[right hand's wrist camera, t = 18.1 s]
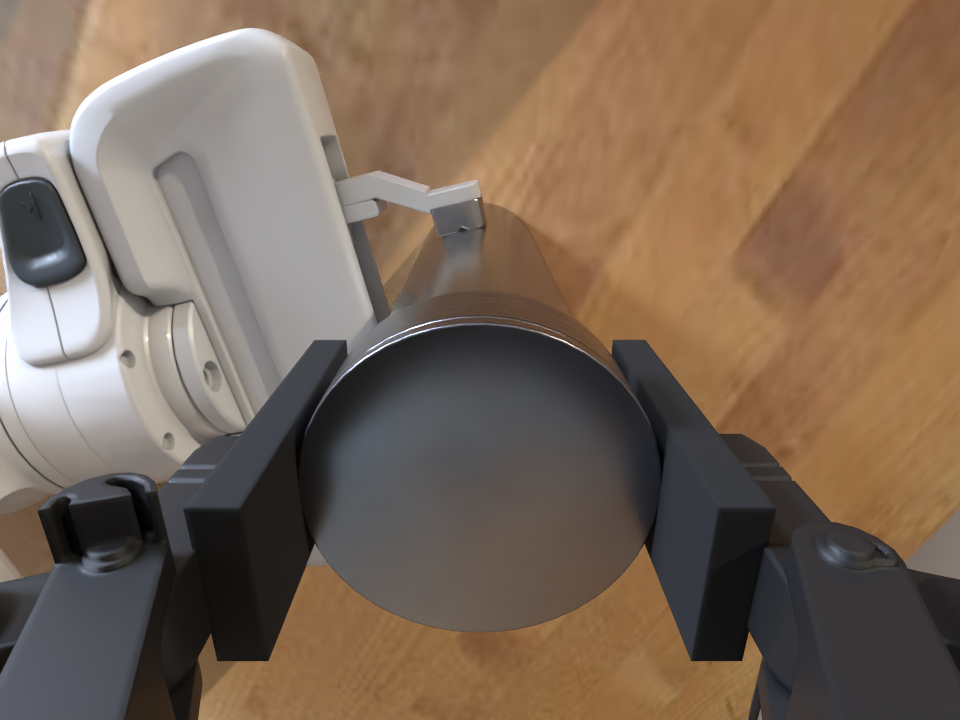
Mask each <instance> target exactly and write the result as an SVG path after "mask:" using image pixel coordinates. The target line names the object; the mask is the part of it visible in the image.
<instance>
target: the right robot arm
mask: <svg viewBox="0 0 960 720" xmlns="http://www.w3.org/2000/svg"><path fill="white" fill-rule="evenodd" d="M347 356H348V351H347V340H314V341H313V342H312V344H311V345H310V346H309V348H308V349H307V350H306V351H305V353H304V354H303V355H302V357H301V358H300V359H299V360H298V362H297V363H296V364H295V365H294V367H293V368H292V369H291V371H290V372H289V373H288V374H287V376H286V377H285V378H284V380H283V381H282V382H281V383H280V385H279V386H278V387H277V389H276V390H275V391H274V392H273V394H272V395H271V396H270V398H269V399H268V400H267V401H266V403H265V404H264V405H263V406H262V408H261V409H260V410H259V412H258V413H257V414H256V415H255V417H254V418H253V419H252V421H251V422H250V423H249V424H248V426H247V427H246V428H245V430H244V431H243V432H242V433H241V435H240V436H217V437H216V438H214V439H212V440H211V441H209V442H207V443H206V444H204V445H202V446H201V447H199V448H197V449H196V450H194V452H193V453H192V454H191V455H190V456H189V457H188V458H187V459H186V461H185V462H184V463H183V464H182V465H181V469H178V470H177V471H176V472H175V473H174V474H173V475H172V476H171V478H170V479H169V482H168V483H165V484H164V485H163V487H162V488H161V489H160V490H159V491H158V492H157V488H156V484H155V481H154V480H152V479H151V478H149V477H148V476H147V475H143V474H138V473H132V472H127V473H111V474H107V475H102V476H98V477H94V478H90V479H87V480H84V481H82V482H79V483H77V484H74V485H72V486H69V487H67V488H65V489H64V490H62V491H60V492H59V493H57V494H55V495H54V496H52V497H51V498H49V499H48V500H47V501H46V502H45V503H44V504H43V505H42V506H41V507H40V508H39V510H38V514H39V517H40V520H41V523H42V525H43V528H44V531H45V534H46V537H47V540H48V543H49V546H50V549H51V552H52V555H53V558H54V561H55V566H54V568H53V570H52V571H51V572H47V573H44V574H39V575H34V576H29V577H24V578H19V579H15V580H10V581H5V582H0V720H198V715H199V707H200V699H201V691H202V676H201V670H200V665H199V661H198V656H199V654H200V653H201V651H202V649H203V647H204V645H205V643H206V641H207V639H208V638H209V636H210V634H212V639H213V643H214V648H215V652H216V656H217V661H269V658H270V656H271V653H272V651H273V648H274V646H275V643H276V641H277V638H278V635H279V633H280V630H281V628H282V625H283V623H284V620H285V618H286V615H287V613H288V610H289V608H290V605H291V603H292V600H293V598H294V595H295V593H296V590H297V588H298V585H299V583H300V580H301V578H302V575H303V572H304V570H305V567H306V565H307V562H308V560H309V557H310V555H311V552H312V550H313V547H314V545H315V542H314V540H313V538H312V536H311V534H310V532H309V530H308V528H307V525H306V522H305V519H304V516H303V513H302V506H301V499H300V492H299V484H298V463H299V455H300V448H301V445H302V442H303V438H304V435H305V432H306V429H307V426H308V424H309V422H310V420H311V418H312V416H313V414H314V412H315V410H316V408H317V406H318V404H319V403H320V401H321V399H322V398H323V396H324V394H325V392H326V391H327V389H328V387H329V386H330V384H331V382H332V381H333V379H334V377H335V375H336V374H337V372H338V370H339V369H340V367H341V365H342V364H343V362H344V361H345V359H346V358H347ZM612 357H613V358H614V360H615V362H616V363H617V365H618V367H619V368H620V370H621V372H622V374H623V375H624V377H625V379H626V380H627V382H628V384H629V386H630V387H631V389H632V391H633V393H634V394H635V396H636V398H637V399H638V401H639V403H640V405H641V406H642V408H643V410H644V412H645V413H646V415H647V417H648V419H649V421H650V424H651V426H652V429H653V431H654V434H655V437H656V439H657V444H658V449H659V453H660V458H661V472H662V481H661V489H660V497H659V504H658V510H657V514H656V518H655V521H654V523H653V526H652V528H651V531H650V533H649V535H648V538H647V540H646V542H645V546H646V548H647V551H648V553H649V556H650V558H651V561H652V563H653V566H654V568H655V571H656V573H657V576H658V578H659V581H660V583H661V586H662V589H663V591H664V594H665V596H666V599H667V601H668V604H669V606H670V609H671V611H672V614H673V616H674V619H675V621H676V624H677V626H678V629H679V631H680V634H681V636H682V639H683V641H684V644H685V647H686V649H687V652H688V654H689V657H690V659H691V661H742V659H743V655H744V650H745V646H746V641H747V637H748V633H749V631H750V633H751V635H752V637H753V639H754V641H755V643H756V645H757V646H758V648H759V650H760V652H761V654H762V656H763V657H762V661H761V665H760V670H759V674H758V678H757V682H756V686H755V690H754V694H753V699H752V703H751V707H750V713H749V720H757V719H758V716H759V712H760V709H761V713H762V720H960V580H959V579H954V578H949V577H944V576H939V575H934V574H929V573H924V572H919V571H915V570H911V569H908V568H907V566H906V564H905V563H904V561H903V560H902V559H901V558H900V556H899V555H898V554H897V553H896V551H895V550H894V549H892V548H891V547H890V546H888V545H887V544H886V543H884V542H883V541H881V540H880V539H879V538H877V537H875V536H873V535H871V534H868V533H866V532H864V531H862V530H860V529H858V528H854V527H851V526H847V525H843V524H840V523H836V522H831V521H830V520H829V519H828V518H827V517H826V516H825V515H824V513H823V512H822V511H821V510H820V509H819V508H818V507H817V506H816V504H815V503H814V502H813V501H812V500H811V499H810V498H809V497H808V495H807V494H806V493H805V492H804V491H803V490H802V489H801V488H800V487H799V485H798V484H797V483H796V482H795V481H792V480H791V476H790V475H789V474H788V473H787V472H786V471H785V470H784V469H783V467H779V463H778V462H777V461H776V460H775V458H774V457H773V456H772V455H771V454H770V453H769V452H768V451H767V450H766V448H764V447H763V446H761V445H759V444H758V443H756V442H754V441H753V440H751V439H749V438H748V437H746V436H744V435H743V434H718V433H717V431H716V430H715V429H714V427H713V426H712V425H711V424H710V422H709V421H708V420H707V418H706V417H705V416H704V415H703V413H702V412H701V411H700V410H699V408H698V407H697V406H696V404H695V403H694V402H693V401H692V399H691V398H690V397H689V395H688V394H687V393H686V392H685V390H684V389H683V388H682V386H681V385H680V384H679V383H678V381H677V380H676V379H675V378H674V376H673V375H672V374H671V372H670V371H669V370H668V369H667V367H666V366H665V365H664V363H663V362H662V361H661V360H660V358H659V357H658V356H657V354H656V353H655V352H654V351H653V349H652V348H651V347H650V345H649V344H648V343H647V342H646V340H613V347H612Z"/></svg>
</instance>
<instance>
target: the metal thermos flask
mask: <svg viewBox="0 0 960 720" xmlns="http://www.w3.org/2000/svg"><path fill="white" fill-rule="evenodd" d="M484 208H485V213H486V218H487V224H486V225H484V226H481V227H478V228H472V229H466V228H463V227H461V228H460V229H459V230H458V231H457V232H454V233H452V234H449V235H444V236H440V237H438V235H437V231H436V228H435V225H434V227H433V228H432V230H431V231H430V233H429V235H428V237H427V239H426V241H425V243H424V245H423V247H422V249H421V251H420V254H419V256H418V258H417V260H416V262H415V264H414V266H413V268H412V270H411V272H410V274H409V276H408V278H407V280H406V282H405V284H404V287H403V289H402V291H401V293H400V295H399V297H398V299H397V301H396V303H395V305H394V307H393V309H392V311H391V313H390V315H389V316H391V315H393V314H394V313H396V312H397V311H399V310H401V309H403V308H405V307H408V306H410V305H412V304H414V303H417V302H419V301H421V300H425V299H428V298H432V297H435V296H439V295H442V294H449V293H455V292H461V291H496V292H506V293H511V294H516V295H520V296H524V297H529V298H532V299H534V300H537V301H540V302H543V303H545V304H548V305H550V306H552V307H554V308H556V309H558V310H560V311H562V312H564V313H566V314H567V315H569V316H571V314H570V312H569V310H568V308H567V306H566V303H565V301H564V299H563V297H562V295H561V293H560V291H559V289H558V287H557V285H556V283H555V281H554V279H553V277H552V275H551V273H550V271H549V269H548V267H547V265H546V263H545V261H544V258H543V256H542V254H541V252H540V250H539V248H538V246H537V244H536V242H535V240H534V238H533V236H532V234H531V232H530V231H529V229H528V227H527V226H526V225H525V224H524V222H523V221H522V220H521V219H520V218H519V217H518V216H516V215H515V214H514V213H512V212H511V211H509V210H507V209H505V208H503V207H500V206H497V205H494V204H488V203H484ZM571 317H572V316H571Z"/></svg>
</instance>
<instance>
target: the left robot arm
mask: <svg viewBox="0 0 960 720" xmlns="http://www.w3.org/2000/svg"><path fill="white" fill-rule="evenodd" d="M387 202H390V203H394V204H397V205H401V206H404V207H407V208H411V209H414V210H418V211H421V212H425V213H428V214H431V213H432V217H433V220H434V224H435V228H436V231H437V235H438V237H440V236H444V235H449V234H452V233H454V232H457V231H458V230H459V229H460V228H461V227H463V228H466V229H472V228H478V227H481V226H484V225H486V224H487V218H486V213H485V208H484V203H483V198H482V194H481V190H480V185H479V181H478V180H472V181H467V182H463V183H458V184H454V185H450V186H446V187H442V188H438V189H433V190H431V189H430V187H429V186H426V185H423V184H420V183H416V182H413V181H410V180H407V179H404V178H401V177H398V176H394V175H391V174H388V173H385V172H382V171H379V170H378V171H374V172H370V173H366V174H362V175H358V176H354V177H350V176H349V173H348V169H347V166H346V163H345V159H344V156H343V153H342V149H341V146H340V143H339V139H338V136H337V133H336V129H335V126H334V123H333V119H332V116H331V113H330V109H329V106H328V103H327V99H326V96H325V93H324V89H323V86H322V82H321V79H320V76H319V72H318V69H317V66H316V63H315V61H314V59H313V58H312V57H311V55H310V54H309V53H308V52H306V51H304V50H303V49H301V48H300V47H298V46H297V45H295V44H294V43H292V42H291V41H289V40H287V39H285V38H284V37H282V36H280V35H278V34H275V33H273V32H270V31H267V30H263V29H258V28H247V29H240V30H235V31H232V32H228V33H224V34H220V35H217V36H214V37H211V38H208V39H205V40H202V41H199V42H196V43H193V44H191V45H188V46H185V47H183V48H180V49H177V50H175V51H172V52H170V53H167V54H165V55H163V56H160V57H158V58H155V59H153V60H151V61H148V62H146V63H144V64H142V65H140V66H138V67H136V68H134V69H131V70H129V71H127V72H125V73H123V74H121V75H119V76H117V77H115V78H113V79H112V80H110V81H108V82H106V83H105V84H103V85H101V86H100V87H99V88H97V89H96V90H95V91H93V92H92V93H91V94H90V95H89V96H88V97H87V98H86V99H85V100H84V101H83V103H82V104H81V105H80V107H79V108H78V110H77V112H76V113H75V116H74V118H73V121H72V124H71V128H70V130H61V131H53V132H45V133H38V134H34V135H29V136H24V137H20V138H16V139H12V140H8V141H5V142H2V143H0V245H1V250H2V256H3V262H4V269H5V276H6V284H7V292H6V293H5V294H3V295H2V296H0V516H2V515H6V514H10V513H13V512H17V511H20V510H23V509H25V508H28V507H30V506H32V505H34V504H36V503H38V502H40V501H42V500H44V499H45V498H47V497H49V496H51V495H55V494H57V493H59V492H60V491H62V490H64V489H65V488H67V487H69V486H72V485H74V484H77V483H79V482H82V481H84V480H87V479H90V478H94V477H98V476H102V475H107V474H111V473H127V472H132V473H138V474H143V475H147V476H148V477H149V478H151V479H152V480H154V481H155V484H158V483H163V482H168V481H169V479H170V478H171V476H172V475H173V474H174V473H175V472H176V471H177V470H178V469H181V465H182V464H183V463H184V462H185V461H186V459H187V458H188V457H189V456H190V455H191V454H192V453H193V452H194V450H196V449H197V448H199V447H201V446H202V445H204V444H206V443H207V442H209V441H211V440H212V439H214V438H216V437H217V436H240V435H241V433H242V432H243V431H244V430H245V428H246V427H247V426H248V424H249V423H250V422H251V421H252V419H253V418H254V417H255V415H256V414H257V413H258V412H259V410H260V409H261V408H262V406H263V405H264V404H265V403H266V401H267V400H268V399H269V398H270V396H271V395H272V394H273V392H274V391H275V390H276V389H277V387H278V386H279V385H280V383H281V382H282V381H283V380H284V378H285V377H286V376H287V374H288V373H289V372H290V371H291V369H292V368H293V367H294V365H295V364H296V363H297V362H298V360H299V359H300V358H301V357H302V355H303V354H304V353H305V351H306V350H307V349H308V348H309V346H310V345H311V344H312V342H313V341H314V340H347V351H348V355H349V353H350V352H351V350H352V349H353V348H354V347H355V346H356V345H357V343H358V342H359V341H360V340H361V339H362V338H363V337H364V336H365V335H366V334H367V333H368V332H369V331H370V330H372V329H373V328H374V327H375V326H377V325H378V324H379V323H380V322H381V321H383V320H384V319H386V318H388V317H389V315H390V309H389V306H388V303H387V299H386V296H385V293H384V289H383V286H382V283H381V279H380V276H379V273H378V269H377V266H376V263H375V259H374V256H373V253H372V249H371V246H370V243H369V239H368V236H367V233H366V229H365V226H364V223H363V220H365V219H369V218H373V217H377V216H378V215H379V214H380V213H381V212H382V211H384V210H385V209H386V207H387V206H388V205H387ZM306 566H330V565H329V564H328V563H327V561H326V560H325V558H324V557H323V555H322V554H321V552H320V551H319V549H318V548H317V546H316V544H315V545H314V547H313V550H312V552H311V555H310V557H309V560H308V562H307V565H306ZM19 578H23V577H22V576H21V574H20V573H19V572H18V570H17V569H16V568H15V566H14V565H13V564H12V562H11V561H10V560H9V558H8V557H7V556H6V554H5V553H4V552H3V550H2V549H1V548H0V582H5V581H10V580H15V579H19Z"/></svg>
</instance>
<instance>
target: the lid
mask: <svg viewBox="0 0 960 720" xmlns="http://www.w3.org/2000/svg"><path fill="white" fill-rule="evenodd" d="M661 481H662V472H661V458H660V453H659V449H658V444H657V439H656V437H655V434H654V431H653V429H652V426H651V424H650V421H649V419H648V417H647V415H646V413H645V412H644V410H643V408H642V406H641V405H640V403H639V401H638V399H637V398H636V396H635V394H634V393H633V391H632V389H631V387H630V386H629V384H628V382H627V380H626V379H625V377H624V375H623V374H622V372H621V370H620V368H619V367H618V365H617V363H616V362H615V360H614V358H613V357H612V355H611V354H610V353H609V352H608V350H607V349H606V348H605V346H604V345H603V344H602V343H601V341H600V340H598V339H597V338H596V337H595V336H594V335H593V334H592V333H591V332H590V331H589V330H588V329H587V328H586V327H584V326H583V325H582V324H580V323H579V322H578V321H576V320H575V319H573V318H572V317H571V316H569V315H567V314H566V313H564V312H562V311H560V310H558V309H556V308H554V307H552V306H550V305H548V304H545V303H543V302H540V301H537V300H534V299H532V298H529V297H524V296H520V295H516V294H511V293H506V292H496V291H461V292H455V293H449V294H442V295H439V296H435V297H432V298H428V299H425V300H421V301H419V302H417V303H414V304H412V305H410V306H408V307H405V308H403V309H401V310H399V311H397V312H396V313H394V314H393V315H391V316H389V317H388V318H386V319H384V320H383V321H381V322H380V323H379V324H378V325H377V326H375V327H374V328H373V329H372V330H370V331H369V332H368V333H367V334H366V335H365V336H364V337H363V338H362V339H361V340H360V341H359V342H358V343H357V345H356V346H355V347H354V348H353V349H352V350H351V352H350V353H349V355H348V356H347V358H346V359H345V361H344V362H343V364H342V365H341V367H340V369H339V370H338V372H337V374H336V375H335V377H334V379H333V381H332V382H331V384H330V386H329V387H328V389H327V391H326V392H325V394H324V396H323V398H322V399H321V401H320V403H319V404H318V406H317V408H316V410H315V412H314V414H313V416H312V418H311V420H310V422H309V424H308V426H307V429H306V432H305V435H304V438H303V442H302V445H301V448H300V455H299V463H298V484H299V492H300V499H301V506H302V513H303V516H304V519H305V522H306V525H307V528H308V530H309V532H310V534H311V536H312V538H313V540H314V542H315V544H316V546H317V548H318V549H319V551H320V552H321V554H322V555H323V557H324V558H325V560H326V561H327V563H328V564H329V565H330V566H331V567H332V568H333V570H334V571H335V572H336V573H337V574H338V575H339V576H340V577H341V579H343V580H344V581H345V582H346V583H347V584H348V585H349V586H351V587H352V588H353V589H354V590H355V591H356V592H358V593H359V594H360V595H362V596H363V597H365V598H366V599H368V600H369V601H371V602H372V603H374V604H375V605H377V606H379V607H381V608H383V609H385V610H387V611H389V612H390V613H392V614H395V615H397V616H400V617H402V618H405V619H407V620H410V621H412V622H416V623H419V624H423V625H426V626H430V627H434V628H440V629H446V630H451V631H462V632H499V631H507V630H515V629H520V628H524V627H529V626H533V625H537V624H540V623H543V622H546V621H549V620H552V619H555V618H558V617H560V616H562V615H564V614H567V613H569V612H571V611H573V610H575V609H577V608H579V607H580V606H582V605H584V604H585V603H587V602H589V601H590V600H592V599H594V598H595V597H596V596H598V595H599V594H600V593H601V592H603V591H604V590H605V589H607V588H608V587H609V586H610V585H611V584H612V583H613V582H615V581H616V580H617V579H618V578H619V577H620V576H621V575H622V574H623V573H624V572H625V570H626V569H627V568H628V567H629V565H630V564H631V563H632V562H633V560H634V559H635V558H636V557H637V555H638V553H639V552H640V550H641V548H642V547H643V545H644V543H645V542H646V540H647V538H648V535H649V533H650V531H651V528H652V526H653V523H654V521H655V518H656V514H657V510H658V504H659V497H660V489H661Z"/></svg>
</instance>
